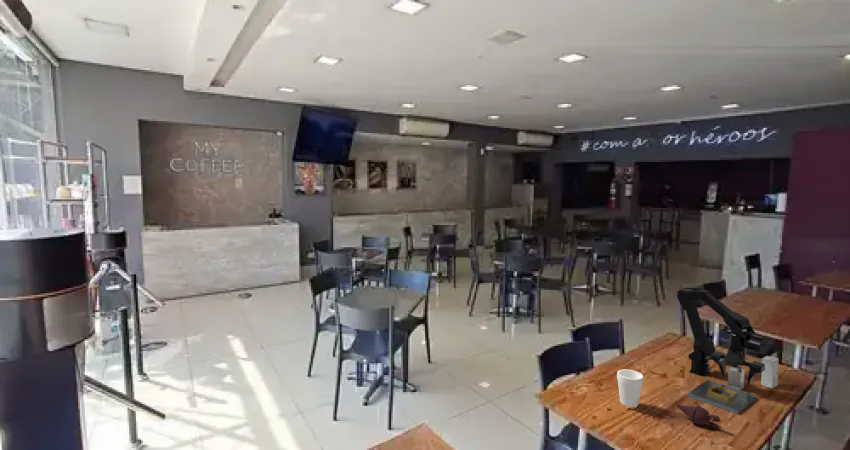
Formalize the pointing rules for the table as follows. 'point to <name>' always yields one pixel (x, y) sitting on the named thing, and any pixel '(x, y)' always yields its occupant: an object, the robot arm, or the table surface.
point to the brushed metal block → (736, 378)
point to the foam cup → (629, 387)
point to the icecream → (700, 416)
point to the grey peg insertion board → (722, 396)
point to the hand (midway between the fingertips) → (735, 380)
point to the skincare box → (770, 372)
